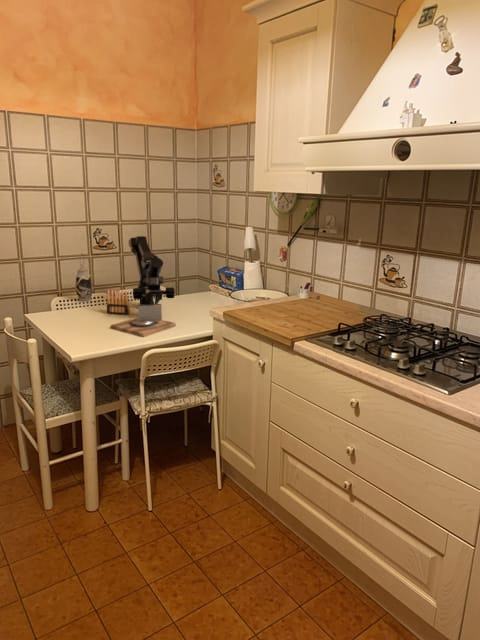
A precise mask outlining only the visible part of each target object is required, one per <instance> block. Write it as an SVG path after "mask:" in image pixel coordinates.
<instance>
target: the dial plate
mask: <svg viewBox="0 0 480 640" xmlns="http://www.w3.org/2000/svg"><path fill="white" fill-rule="evenodd" d="M136 318H139V316H137V317H133V318H130V319H127V320H123V321H120V322H116V323H112V324H111V325H110V329H112V330H116V331H119V332H123V333H128V334H129V335H134V336H137V337H141V338H146V337H148V336H151V335H153V334H154V335H155V334H157V333H160V332H163V331H166V330H168V329H171V328H175V327H176V325H177V323H176V322H172V321H169V320H164V319H162V321H155V324H153V325H151V326H134V325H132V320H133V319H136Z"/></svg>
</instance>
